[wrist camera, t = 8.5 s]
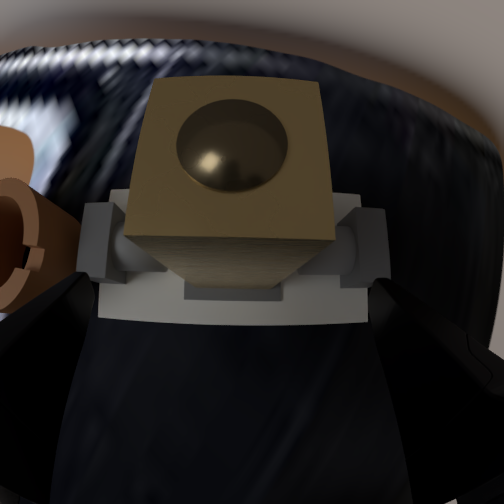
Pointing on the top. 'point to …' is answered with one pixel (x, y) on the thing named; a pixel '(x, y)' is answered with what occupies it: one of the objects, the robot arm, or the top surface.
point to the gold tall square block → (232, 179)
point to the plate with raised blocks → (236, 300)
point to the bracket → (33, 244)
